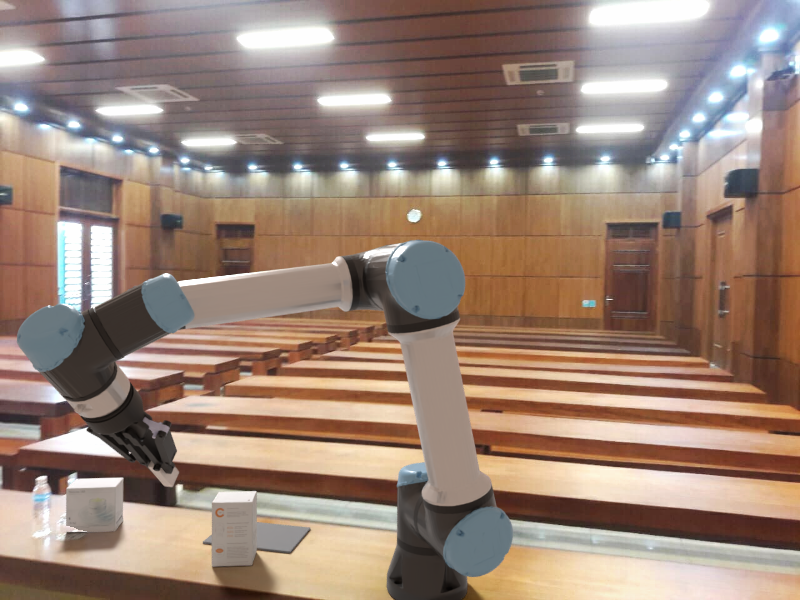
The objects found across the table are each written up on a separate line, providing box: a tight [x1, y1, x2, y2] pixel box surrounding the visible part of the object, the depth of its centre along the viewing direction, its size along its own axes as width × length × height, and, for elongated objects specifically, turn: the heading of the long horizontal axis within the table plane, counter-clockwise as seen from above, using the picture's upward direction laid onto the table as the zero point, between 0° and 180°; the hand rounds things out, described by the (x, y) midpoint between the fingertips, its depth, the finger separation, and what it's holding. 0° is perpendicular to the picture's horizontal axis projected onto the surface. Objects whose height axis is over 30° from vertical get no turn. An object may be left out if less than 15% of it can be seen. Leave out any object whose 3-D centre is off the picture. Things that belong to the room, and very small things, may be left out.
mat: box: [202, 521, 311, 554], centre depth 130 cm, size 20×12×1 cm, turn 79°
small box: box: [211, 490, 258, 568], centre depth 119 cm, size 8×6×13 cm
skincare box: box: [65, 477, 124, 533], centre depth 133 cm, size 10×6×10 cm, turn 99°
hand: (171, 479), depth 97 cm, fingers closed
